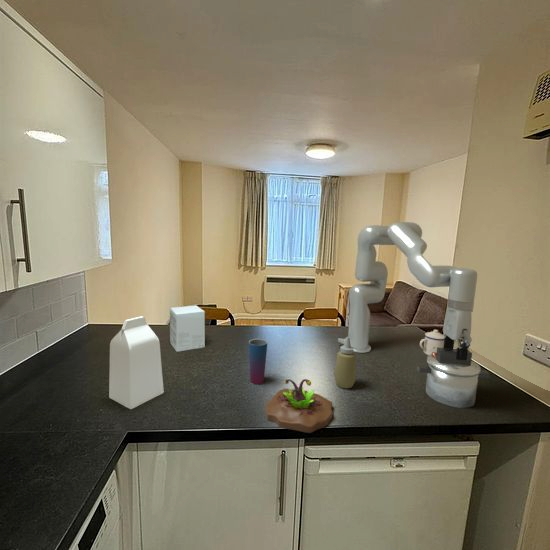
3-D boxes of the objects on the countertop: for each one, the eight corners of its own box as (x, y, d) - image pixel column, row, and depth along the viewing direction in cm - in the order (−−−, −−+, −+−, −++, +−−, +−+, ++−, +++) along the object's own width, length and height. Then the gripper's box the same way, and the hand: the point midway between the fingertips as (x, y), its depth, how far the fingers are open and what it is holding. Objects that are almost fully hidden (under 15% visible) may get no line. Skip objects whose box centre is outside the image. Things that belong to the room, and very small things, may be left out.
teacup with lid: (435, 349, 152) (438, 326, 150) (448, 357, 143) (451, 333, 142) (413, 350, 150) (415, 327, 149) (425, 358, 141) (427, 333, 140)
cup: (268, 378, 116) (270, 340, 114) (262, 386, 110) (263, 346, 108) (252, 375, 118) (253, 337, 116) (244, 383, 112) (245, 343, 110)
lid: (437, 374, 100) (439, 357, 99) (420, 354, 116) (421, 340, 115) (490, 378, 98) (492, 361, 97) (465, 358, 114) (467, 343, 113)
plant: (319, 441, 83) (321, 402, 81) (256, 419, 91) (257, 384, 90) (339, 405, 100) (341, 373, 99) (284, 390, 109) (285, 359, 107)
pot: (423, 404, 102) (426, 372, 101) (409, 382, 117) (411, 354, 115) (496, 411, 100) (501, 378, 98) (472, 388, 114) (476, 359, 113)
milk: (130, 409, 94) (128, 326, 90) (109, 397, 100) (105, 319, 96) (163, 392, 104) (162, 317, 100) (142, 383, 110) (140, 311, 106)
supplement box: (196, 338, 156) (196, 304, 154) (205, 347, 145) (205, 311, 143) (169, 342, 149) (169, 307, 147) (176, 352, 138) (175, 314, 136)
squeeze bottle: (343, 392, 108) (346, 342, 106) (328, 382, 115) (331, 335, 113) (360, 387, 112) (364, 339, 109) (345, 378, 119) (348, 333, 116)
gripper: (438, 299, 113) (433, 344, 115) (460, 311, 96) (454, 363, 98) (459, 300, 112) (454, 345, 114) (486, 312, 95) (479, 365, 97)
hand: (454, 353), depth 106 cm, fingers open, 9 cm apart
